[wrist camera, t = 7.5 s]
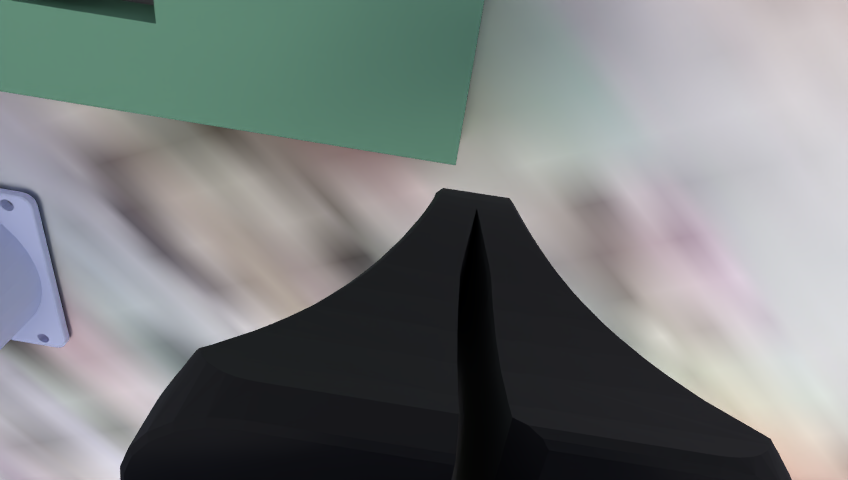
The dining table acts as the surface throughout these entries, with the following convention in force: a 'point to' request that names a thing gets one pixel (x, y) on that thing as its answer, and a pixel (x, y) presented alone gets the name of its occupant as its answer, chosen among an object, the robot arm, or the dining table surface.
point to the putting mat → (258, 65)
